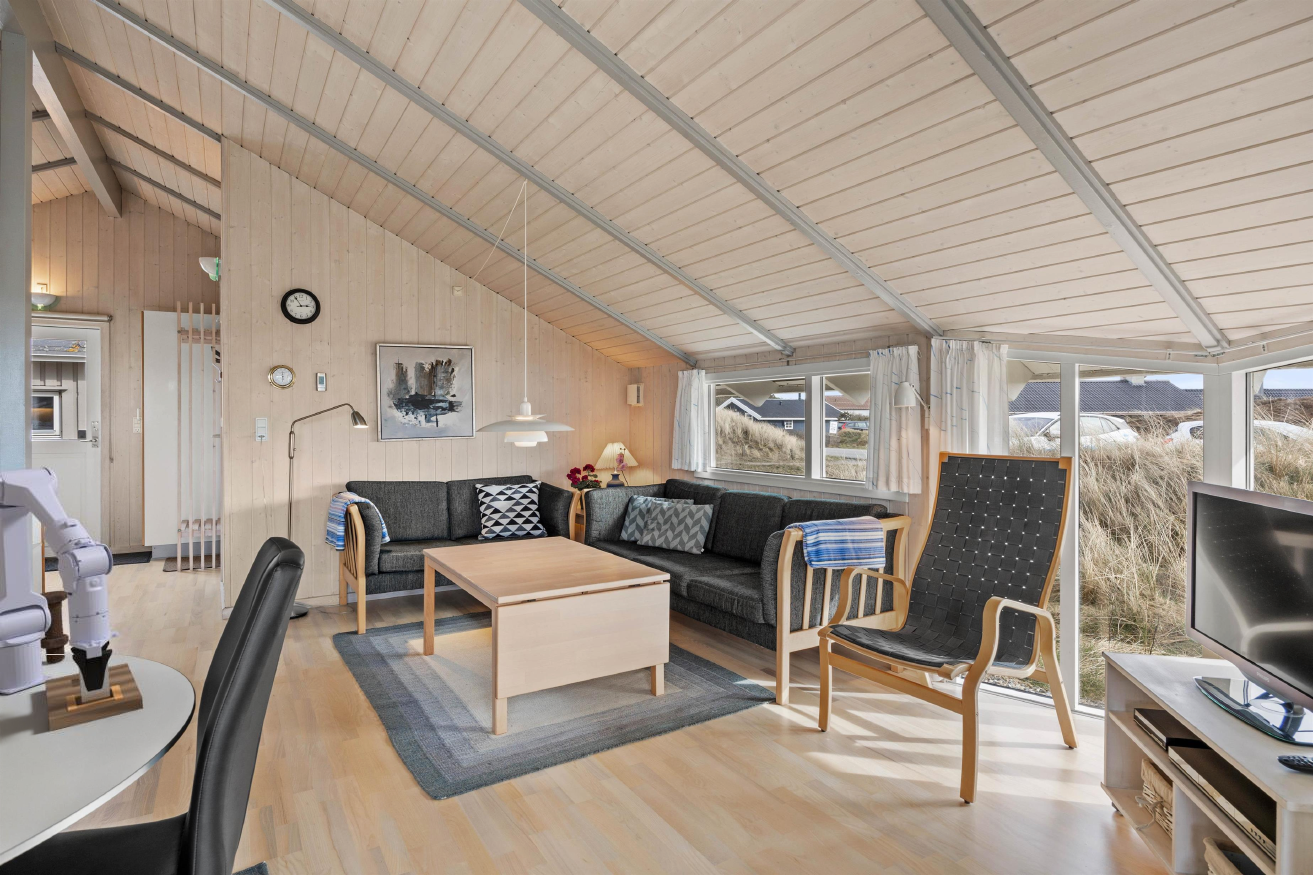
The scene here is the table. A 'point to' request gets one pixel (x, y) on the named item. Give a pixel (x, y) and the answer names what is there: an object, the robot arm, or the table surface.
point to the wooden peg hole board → (70, 711)
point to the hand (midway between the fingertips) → (93, 686)
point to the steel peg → (96, 694)
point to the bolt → (55, 627)
